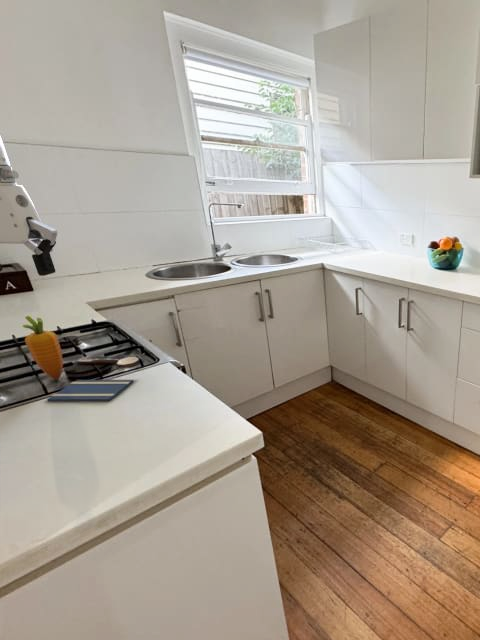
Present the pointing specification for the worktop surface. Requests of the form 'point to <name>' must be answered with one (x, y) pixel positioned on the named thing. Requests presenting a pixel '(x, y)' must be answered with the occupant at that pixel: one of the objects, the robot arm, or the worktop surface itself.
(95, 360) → the wooden spoon
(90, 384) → the dish cloth
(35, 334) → the carrot
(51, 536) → the worktop surface
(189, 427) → the worktop surface
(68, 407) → the worktop surface
